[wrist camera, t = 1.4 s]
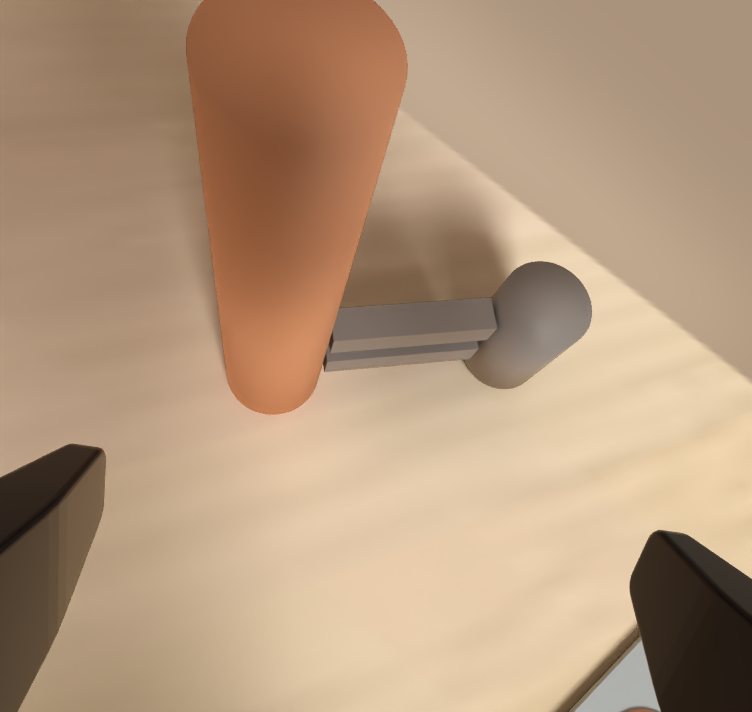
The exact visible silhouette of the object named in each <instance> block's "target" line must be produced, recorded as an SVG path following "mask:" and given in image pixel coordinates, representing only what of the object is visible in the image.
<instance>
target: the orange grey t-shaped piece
mask: <svg viewBox="0 0 752 712" xmlns="http://www.w3.org/2000/svg"><path fill="white" fill-rule="evenodd" d="M186 54H187V62H188V70H189V78H190V86H191V94H192V102H193V110H194V118H195V126H196V134H197V142H198V150H199V158H200V166H201V174H202V182H203V190H204V198H205V206H206V214H207V222H208V230H209V237H210V245H211V253H212V261H213V269H214V277H215V285H216V293H217V301H218V309H219V317H220V325H221V333H222V341H223V349H224V357H225V365H226V373H227V380H228V383H229V386H230V388H231V390H232V392H233V394H234V395H235V397H236V398H237V399H238V400H239V401H240V402H241V403H242V404H243V405H245V406H246V407H248V408H250V409H252V410H254V411H256V412H259V413H264V414H282V413H286V412H289V411H292V410H294V409H296V408H298V407H299V406H301V405H302V404H303V403H304V402H306V400H307V399H308V398H309V397H310V396H311V394H312V393H313V391H314V389H315V387H316V384H317V381H318V378H319V374H320V371H321V368H322V364H323V366H324V372H329V371H341V370H352V369H363V368H374V367H385V366H396V365H407V364H419V363H430V362H441V361H452V360H463V359H464V361H465V364H466V366H467V368H468V369H469V371H470V372H471V373H472V374H473V375H474V376H475V377H476V378H477V379H478V380H479V381H481V382H482V383H484V384H486V385H488V386H491V387H494V388H499V389H509V388H514V387H517V386H519V385H521V384H523V383H524V382H526V381H527V380H528V379H530V378H531V377H532V376H533V375H535V374H536V373H537V372H538V371H540V370H541V369H542V368H544V367H545V366H546V365H547V364H549V363H550V362H551V361H553V360H554V359H555V358H556V357H558V356H559V355H560V354H561V353H563V352H564V351H565V350H567V349H568V348H569V347H570V346H572V345H573V344H574V343H576V342H577V341H578V340H579V339H580V338H581V337H582V336H583V335H584V334H585V333H586V331H587V329H588V328H589V325H590V322H591V317H592V306H591V301H590V298H589V295H588V293H587V291H586V289H585V287H584V286H583V284H582V283H581V282H580V280H579V279H578V278H577V277H576V276H575V275H574V274H572V273H571V272H570V271H568V270H567V269H565V268H563V267H561V266H559V265H557V264H554V263H550V262H543V261H537V262H530V263H527V264H524V265H522V266H520V267H518V268H517V269H516V270H514V271H513V272H512V273H511V275H510V276H509V277H508V278H507V279H506V281H505V282H504V283H503V284H502V286H501V287H500V288H499V289H498V291H497V292H496V293H495V294H494V296H493V297H492V298H491V297H488V298H474V299H460V300H445V301H431V302H417V303H403V304H389V305H374V306H360V307H346V308H339V307H340V304H341V300H342V297H343V294H344V290H345V287H346V284H347V280H348V277H349V273H350V270H351V267H352V263H353V260H354V257H355V253H356V250H357V247H358V243H359V240H360V236H361V233H362V230H363V226H364V223H365V220H366V216H367V213H368V209H369V206H370V203H371V199H372V196H373V193H374V189H375V186H376V183H377V179H378V176H379V172H380V169H381V166H382V162H383V159H384V156H385V152H386V149H387V145H388V142H389V139H390V135H391V132H392V129H393V125H394V122H395V119H396V115H397V112H398V108H399V105H400V102H401V98H402V95H403V91H404V88H405V83H406V79H407V68H408V63H407V56H406V51H405V47H404V43H403V41H402V38H401V36H400V34H399V32H398V30H397V28H396V27H395V25H394V23H393V22H392V20H391V19H390V18H389V16H388V15H387V14H386V13H385V11H384V10H383V9H382V8H381V7H380V6H378V4H377V3H376V2H374V1H373V0H204V1H203V2H202V3H201V4H200V6H199V7H198V8H197V10H196V12H195V14H194V15H193V17H192V20H191V22H190V25H189V28H188V33H187V38H186Z"/></svg>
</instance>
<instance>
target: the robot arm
mask: <svg viewBox="0 0 752 712" xmlns="http://www.w3.org/2000/svg"><path fill="white" fill-rule="evenodd" d="M105 468H106V456H105V452H104V451H103V449H101V448H99V447H92V446H85V445H79V444H68V445H65V446H63V447H61V448H59V449H57V450H55V451H53V452H51V453H49V454H47V455H45V456H43V457H41V458H39V459H37V460H35V461H33V462H31V463H29V464H27V465H25V466H23V467H21V468H19V469H17V470H15V471H13V472H11V473H9V474H6V475H4V476H2V477H0V712H18V710H19V708H20V706H21V704H22V702H23V700H24V698H25V696H26V694H27V692H28V690H29V689H30V687H31V685H32V683H33V681H34V679H35V677H36V675H37V673H38V671H39V669H40V667H41V665H42V663H43V661H44V660H45V658H46V656H47V654H48V652H49V650H50V648H51V645H52V643H53V641H54V639H55V637H56V635H57V633H58V631H59V628H60V626H61V623H62V620H63V618H64V615H65V613H66V610H67V608H68V605H69V602H70V600H71V597H72V594H73V592H74V589H75V586H76V584H77V581H78V578H79V576H80V573H81V571H82V568H83V565H84V563H85V560H86V557H87V555H88V552H89V549H90V547H91V544H92V541H93V539H94V536H95V533H96V531H97V528H98V525H99V523H100V519H101V516H102V512H103V506H104V490H105ZM630 595H631V600H632V604H633V608H634V612H635V616H636V620H637V624H638V628H639V632H640V636H641V640H642V644H643V648H644V652H645V656H646V660H647V664H648V668H649V672H650V676H651V680H652V684H653V688H654V691H655V695H656V698H657V702H658V705H659V708H660V711H661V712H752V579H751V578H749V577H748V576H747V575H745V574H744V573H742V572H741V571H739V570H738V569H736V568H735V567H734V566H732V565H731V564H729V563H728V562H726V561H725V560H723V559H722V558H720V557H719V556H718V555H716V554H715V553H713V552H712V551H710V550H709V549H707V548H706V547H705V546H703V545H702V544H700V543H699V542H697V541H696V540H694V539H693V538H691V537H690V536H688V535H686V534H683V533H678V532H671V531H664V530H658V531H655V532H653V533H652V534H651V535H650V536H649V538H648V540H647V542H646V544H645V547H644V549H643V551H642V553H641V555H640V557H639V559H638V562H637V564H636V566H635V568H634V570H633V572H632V575H631V579H630Z"/></svg>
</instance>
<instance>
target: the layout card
mask: <svg viewBox="0 0 752 712" xmlns="http://www.w3.org/2000/svg"><path fill="white" fill-rule="evenodd" d="M569 712H661V711H660V708H659V705H658V702H657V698H656V695H655V691H654V688H653V684H652V680H651V676H650V672H649V668H648V664H647V660H646V656H645V652H644V648H643V644H642V640H641V636H639V637H638V638H637V640H636V641H635V642H634V643H633V644H632V645H631V646H630V647H629V648H628V649H627V650H626V651H625V652H624V653H623V654H622V655H621V657H620V658H619V659H618V660H617V661H616V662H615V663H614V664H613V665H612V666H611V667H610V668H609V669H608V670H607V671H606V672H605V674H604V675H603V676H602V677H601V678H600V679H599V680H598V681H597V682H596V683H595V684H594V685H593V686H592V687H591V688H590V689H589V691H588V692H587V693H586V694H585V695H584V696H583V697H582V698H581V699H580V700H579V701H578V702H577V703H576V704H575V705H574V706H573V707H572V709H571V710H570V711H569Z"/></svg>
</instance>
